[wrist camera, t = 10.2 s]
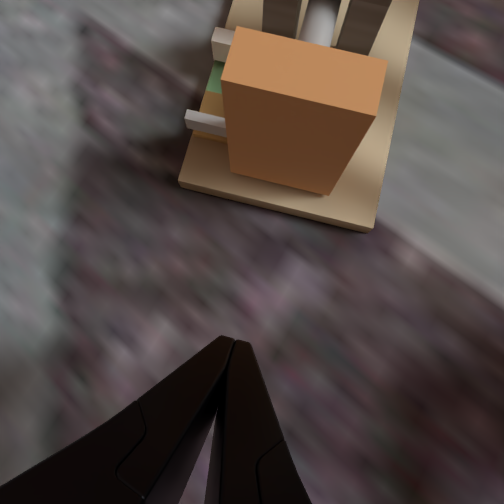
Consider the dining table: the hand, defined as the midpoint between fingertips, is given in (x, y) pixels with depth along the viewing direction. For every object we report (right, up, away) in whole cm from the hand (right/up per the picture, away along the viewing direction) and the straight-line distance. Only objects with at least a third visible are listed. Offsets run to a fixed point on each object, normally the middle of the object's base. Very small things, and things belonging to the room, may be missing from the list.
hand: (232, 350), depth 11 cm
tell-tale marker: (-1, +13, +10) cm, 16 cm away
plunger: (+2, +11, +10) cm, 15 cm away
